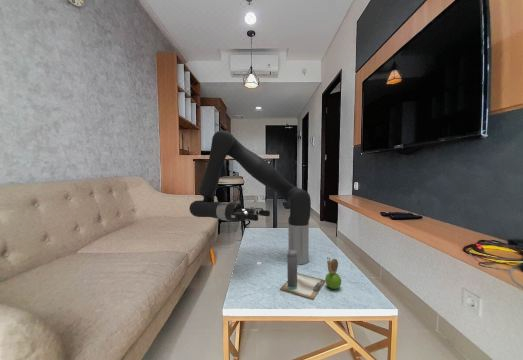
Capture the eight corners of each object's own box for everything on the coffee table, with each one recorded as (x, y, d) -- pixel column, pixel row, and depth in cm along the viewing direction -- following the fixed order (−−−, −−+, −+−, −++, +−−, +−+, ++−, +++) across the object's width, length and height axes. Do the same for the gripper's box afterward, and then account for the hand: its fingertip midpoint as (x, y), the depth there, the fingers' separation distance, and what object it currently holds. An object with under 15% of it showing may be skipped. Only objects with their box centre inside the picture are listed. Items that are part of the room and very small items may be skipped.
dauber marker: (289, 283, 82) (289, 248, 82) (298, 286, 81) (298, 250, 80) (285, 288, 80) (285, 251, 79) (294, 290, 78) (294, 253, 77)
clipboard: (295, 273, 91) (295, 270, 91) (325, 281, 85) (325, 278, 85) (279, 290, 79) (279, 286, 79) (313, 300, 73) (313, 296, 73)
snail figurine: (320, 289, 80) (321, 255, 79) (330, 282, 84) (330, 250, 84) (335, 295, 76) (335, 260, 75) (343, 287, 80) (344, 254, 80)
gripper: (218, 205, 87) (253, 208, 79) (240, 200, 99) (272, 203, 91) (218, 224, 87) (253, 230, 79) (240, 217, 99) (273, 221, 91)
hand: (263, 215), depth 85 cm, fingers open, 8 cm apart
